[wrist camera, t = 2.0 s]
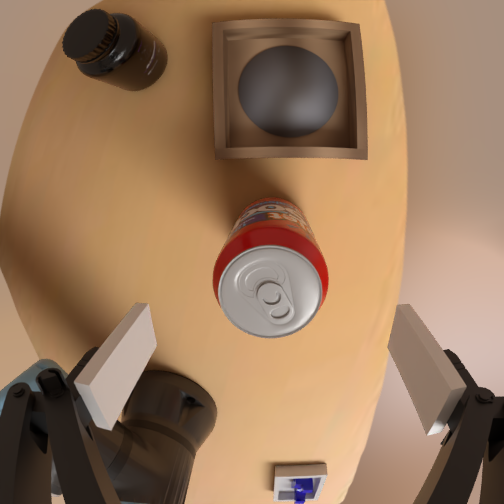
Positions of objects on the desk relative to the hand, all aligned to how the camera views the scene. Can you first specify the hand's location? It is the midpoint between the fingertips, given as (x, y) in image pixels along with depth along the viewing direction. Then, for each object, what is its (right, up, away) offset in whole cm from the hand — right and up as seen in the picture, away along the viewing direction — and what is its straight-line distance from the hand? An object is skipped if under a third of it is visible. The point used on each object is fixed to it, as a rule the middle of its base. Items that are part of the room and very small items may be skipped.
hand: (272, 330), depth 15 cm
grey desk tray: (+9, -44, +34) cm, 56 cm away
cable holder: (+9, -44, +34) cm, 57 cm away
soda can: (+1, +6, +18) cm, 19 cm away
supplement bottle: (-13, +25, +12) cm, 31 cm away
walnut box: (+3, +20, +12) cm, 24 cm away
